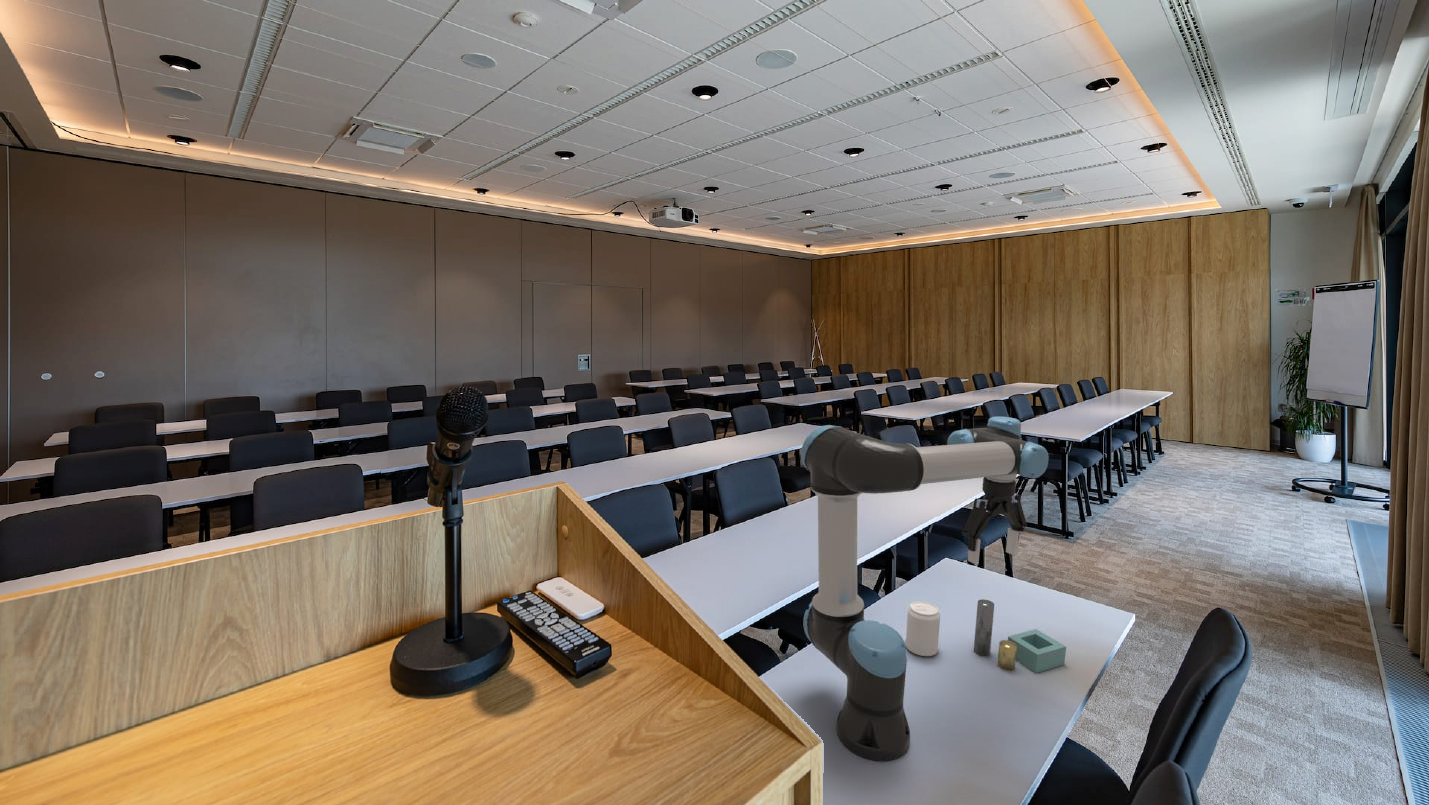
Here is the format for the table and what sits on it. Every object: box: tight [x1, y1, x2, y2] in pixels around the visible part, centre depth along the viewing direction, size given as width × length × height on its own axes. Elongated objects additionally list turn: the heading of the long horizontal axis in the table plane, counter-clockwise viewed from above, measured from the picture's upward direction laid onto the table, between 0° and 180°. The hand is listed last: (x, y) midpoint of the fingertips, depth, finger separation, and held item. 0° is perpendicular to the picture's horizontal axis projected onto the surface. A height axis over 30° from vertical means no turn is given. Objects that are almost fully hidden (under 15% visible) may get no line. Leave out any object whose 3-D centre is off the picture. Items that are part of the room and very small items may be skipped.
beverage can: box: [905, 600, 941, 657], centre depth 161 cm, size 8×8×12 cm
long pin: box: [973, 599, 995, 657], centre depth 160 cm, size 4×4×14 cm
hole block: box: [1007, 628, 1067, 674], centre depth 157 cm, size 10×9×5 cm
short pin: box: [997, 639, 1017, 672], centre depth 154 cm, size 4×4×6 cm
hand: (992, 558), depth 156 cm, fingers open, 13 cm apart
